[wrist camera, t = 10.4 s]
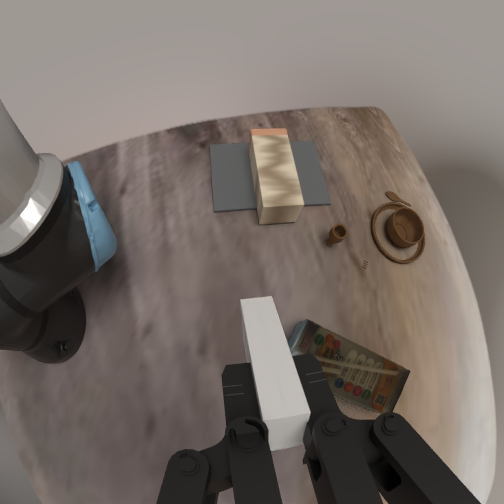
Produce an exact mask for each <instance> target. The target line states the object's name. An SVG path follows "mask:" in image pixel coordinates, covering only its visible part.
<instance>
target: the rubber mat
mask: <svg viewBox="0 0 504 504" xmlns="http://www.w3.org/2000/svg"><path fill="white" fill-rule="evenodd" d="M289 143H290V146H291V150H292V154H293V158H294V162H295V167H296V171H297V175H298V179H299V183H300V188H301V192H302V197H303V201H304V206H319V205H330V204H331V202H330V198H329V194H328V191H327V187H326V183H325V180H324V176H323V173H322V169H321V166H320V162H319V159H318V155H317V152H316V149H315V146H314V142H302V141H291V142H289ZM210 156H211V173H212V189H213V203H214V213H216V212H228V211H240V210H253V209H257V205H256V198H255V191H254V184H253V177H252V171H251V164H250V157H249V143H232V144H217V145H210Z"/></svg>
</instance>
